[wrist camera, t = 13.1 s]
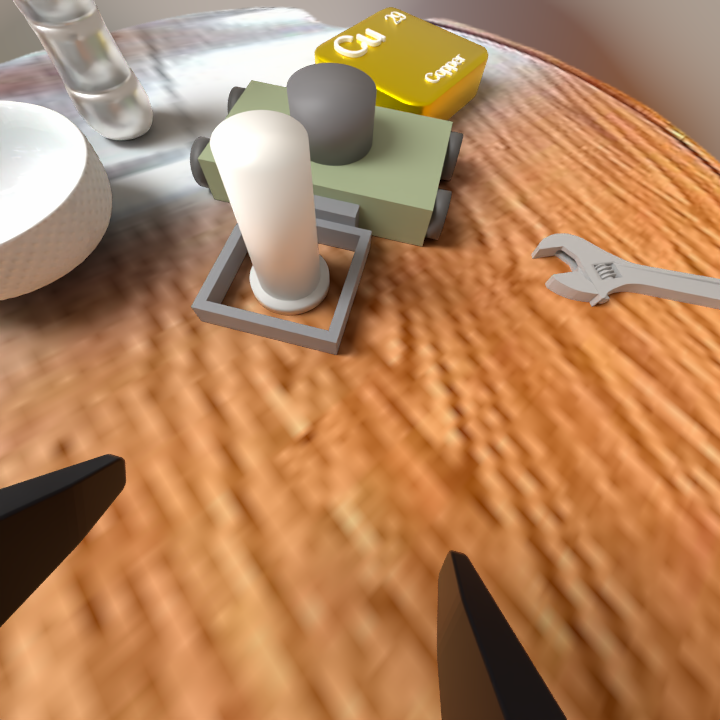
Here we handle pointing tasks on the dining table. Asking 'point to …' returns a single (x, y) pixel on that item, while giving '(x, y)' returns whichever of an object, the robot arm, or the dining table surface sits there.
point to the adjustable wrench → (619, 275)
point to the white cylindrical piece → (273, 207)
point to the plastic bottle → (90, 66)
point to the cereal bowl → (46, 198)
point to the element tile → (410, 62)
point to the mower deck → (338, 185)
